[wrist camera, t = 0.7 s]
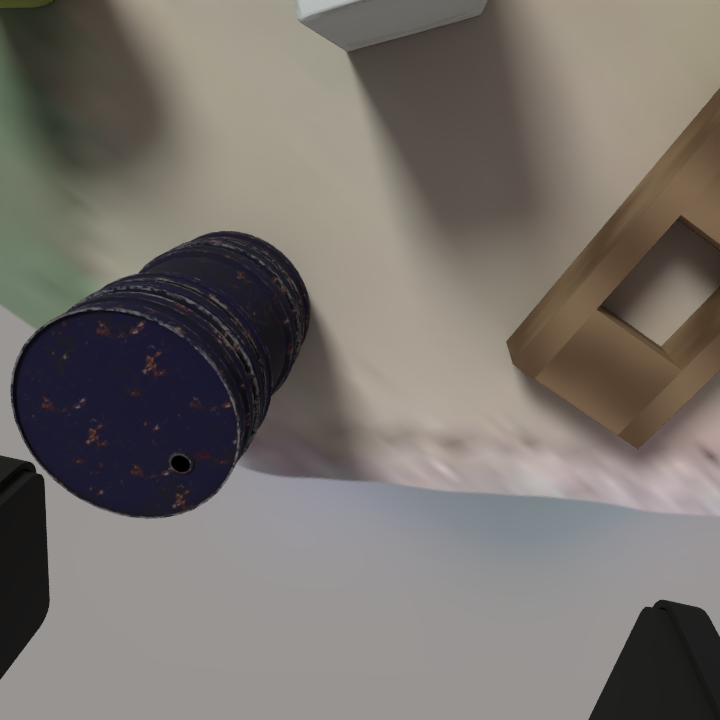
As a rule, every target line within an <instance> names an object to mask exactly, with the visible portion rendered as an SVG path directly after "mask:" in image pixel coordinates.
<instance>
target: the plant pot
mask: <svg viewBox="0 0 720 720" xmlns="http://www.w3.org/2000/svg"><path fill="white" fill-rule="evenodd" d="M52 1H54V0H0V8H34V7H40V6H44V5H46V4H49V3H51V2H52Z"/></svg>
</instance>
